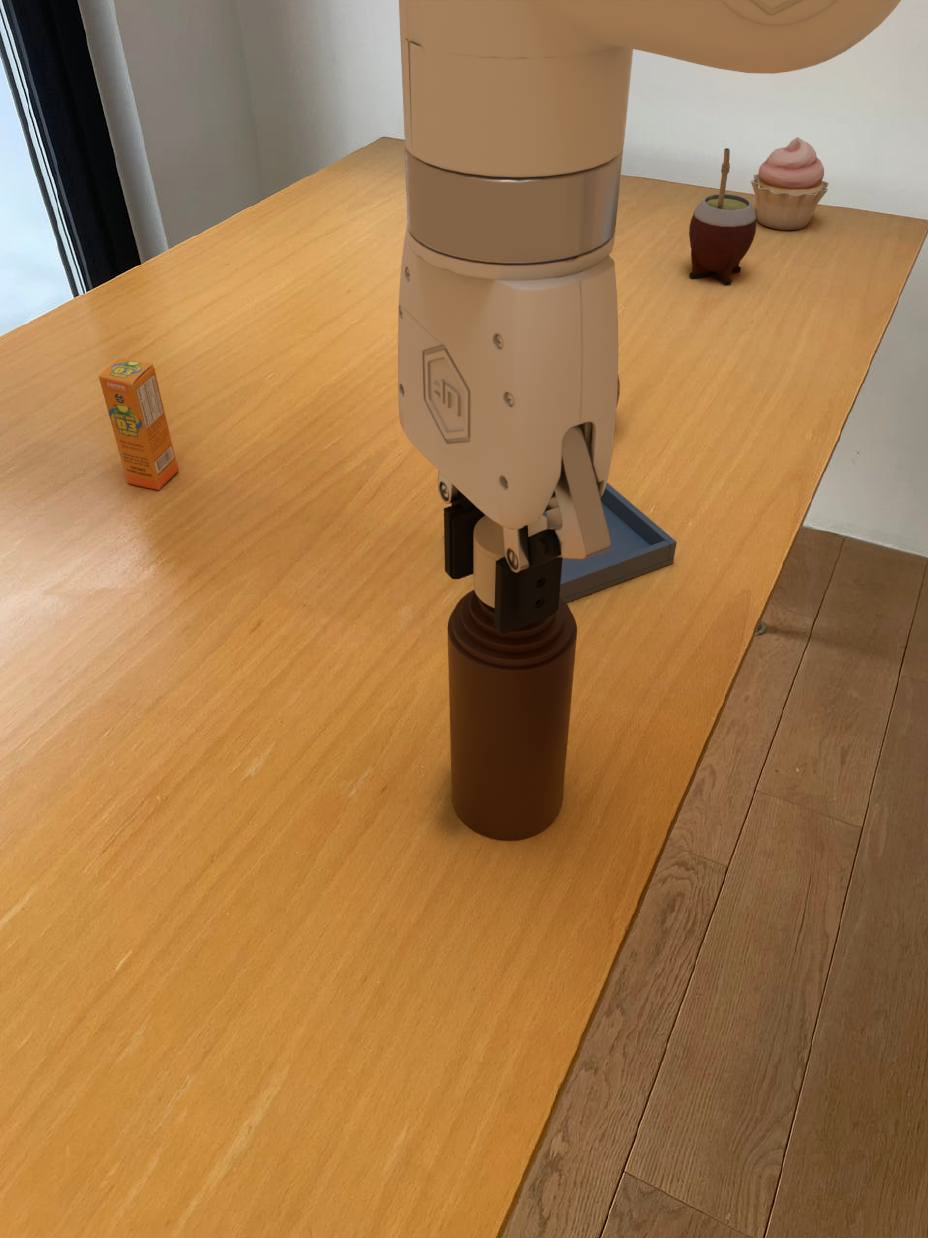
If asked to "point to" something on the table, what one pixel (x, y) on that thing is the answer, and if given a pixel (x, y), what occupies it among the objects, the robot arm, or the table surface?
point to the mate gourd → (721, 232)
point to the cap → (492, 554)
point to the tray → (618, 550)
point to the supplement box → (139, 423)
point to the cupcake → (789, 186)
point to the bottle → (509, 718)
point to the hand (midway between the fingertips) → (500, 590)
